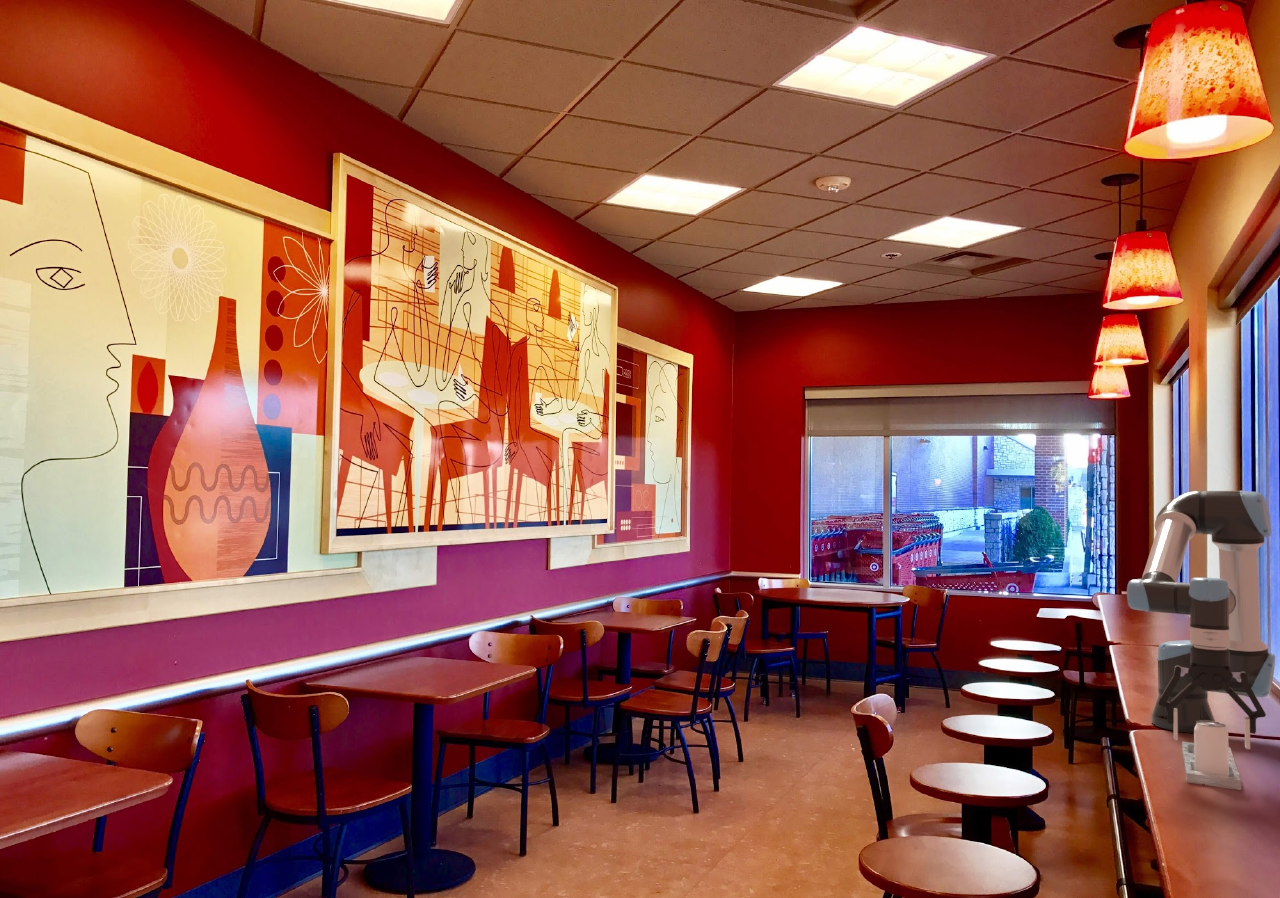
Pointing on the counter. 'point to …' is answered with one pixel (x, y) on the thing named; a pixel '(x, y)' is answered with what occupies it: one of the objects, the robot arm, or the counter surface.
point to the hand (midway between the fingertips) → (1211, 743)
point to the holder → (1209, 778)
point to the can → (1211, 747)
